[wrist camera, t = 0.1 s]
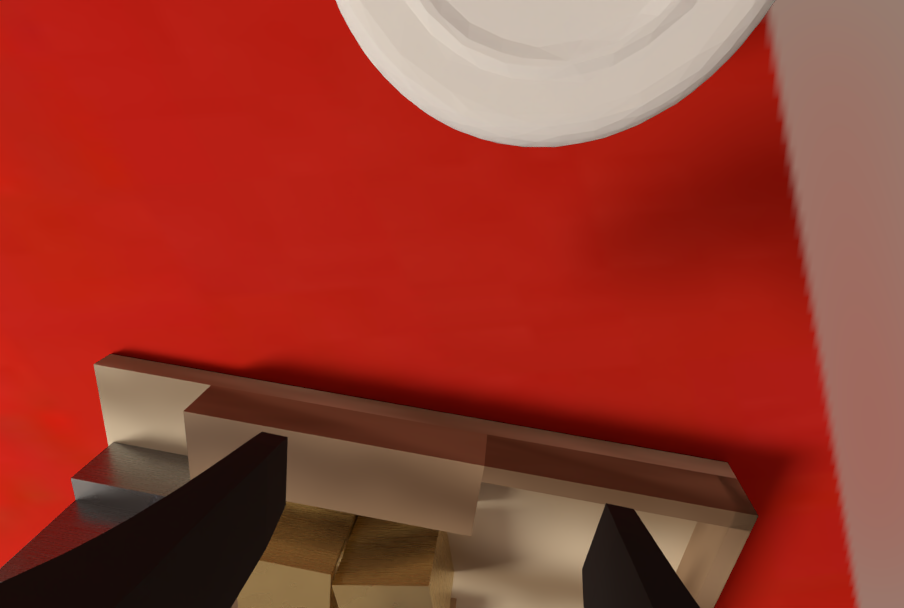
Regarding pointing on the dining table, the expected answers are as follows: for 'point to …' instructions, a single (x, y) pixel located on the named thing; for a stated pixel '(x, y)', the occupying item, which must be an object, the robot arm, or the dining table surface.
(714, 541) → the slot board
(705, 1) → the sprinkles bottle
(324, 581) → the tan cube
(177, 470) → the brushed metal block
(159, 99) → the dining table surface
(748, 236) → the dining table surface
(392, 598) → the golden brown cube
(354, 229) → the dining table surface
